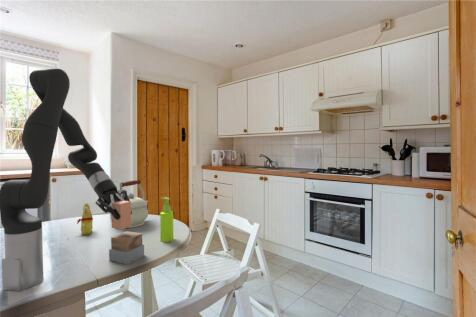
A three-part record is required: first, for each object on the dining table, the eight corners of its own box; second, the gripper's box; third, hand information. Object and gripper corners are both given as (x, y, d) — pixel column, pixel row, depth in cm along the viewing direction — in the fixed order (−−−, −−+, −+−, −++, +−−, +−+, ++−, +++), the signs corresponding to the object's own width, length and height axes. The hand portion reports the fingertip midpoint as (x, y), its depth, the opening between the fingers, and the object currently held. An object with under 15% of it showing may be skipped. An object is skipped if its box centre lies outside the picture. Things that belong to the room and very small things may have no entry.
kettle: (130, 231, 133) (129, 184, 132) (103, 228, 139) (102, 182, 138) (159, 219, 156) (159, 178, 155) (135, 216, 162) (134, 177, 161)
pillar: (120, 229, 99) (120, 204, 99) (111, 227, 101) (111, 202, 101) (131, 225, 104) (130, 201, 103) (121, 224, 106) (121, 200, 105)
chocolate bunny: (93, 228, 138) (93, 200, 138) (91, 234, 128) (91, 205, 128) (79, 230, 136) (78, 202, 135) (75, 236, 126) (75, 206, 125)
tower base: (126, 264, 96) (126, 253, 95) (109, 260, 99) (109, 249, 99) (144, 255, 104) (144, 244, 104) (127, 252, 107) (127, 241, 107)
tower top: (127, 251, 97) (127, 240, 96) (111, 248, 99) (111, 237, 99) (142, 244, 104) (142, 233, 104) (127, 241, 107) (127, 231, 107)
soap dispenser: (167, 236, 126) (166, 196, 125) (175, 239, 121) (175, 197, 121) (156, 239, 121) (156, 197, 121) (165, 243, 117) (164, 199, 116)
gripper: (91, 180, 98) (114, 215, 94) (121, 176, 111) (143, 206, 107) (81, 193, 100) (104, 227, 96) (112, 188, 113) (133, 218, 109)
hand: (124, 216), depth 102 cm, fingers closed on pillar, 5 cm apart
